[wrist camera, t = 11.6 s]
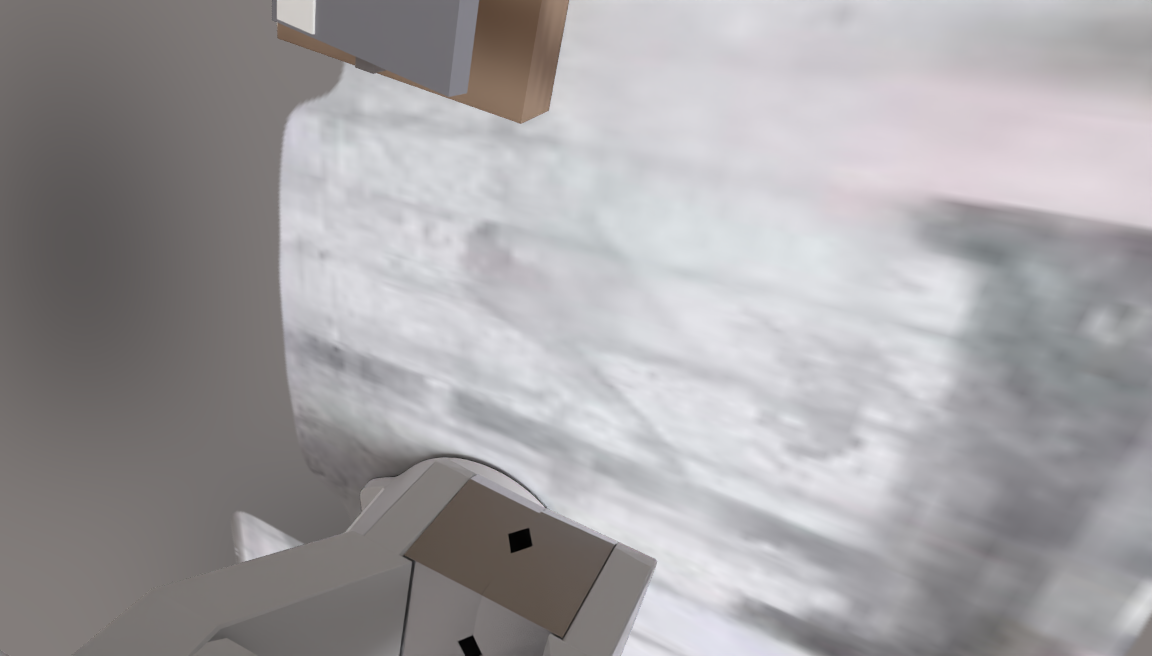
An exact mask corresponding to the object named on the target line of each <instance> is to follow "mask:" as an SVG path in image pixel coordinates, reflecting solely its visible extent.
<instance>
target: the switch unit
mask: <svg viewBox="0 0 1152 656" xmlns="http://www.w3.org/2000/svg"><path fill="white" fill-rule="evenodd" d="M568 4H569V0H479V5H478V13H477V21H476V28H475V36H474V44H473V52H472V59H471V67H470V75H469V83H468V90H467V93H466V94H461V95H456V96H451V97H447V96H445V95H443V94H440V93H438V92H436V91H434V90H431V89H429V88H427V87H424V86H422V85H420V84H418V83H415V82H413V81H411V80H408V79H406V78H404V77H401V76H399V75H397V74H395V73H392V72H390V71H388V70H385V69H383V68H381V67H379V66H376V65H374V64H372V63H369V62H367V61H365V60H362V59H360V58H358V57H356V56H353V55H351V54H349V53H346V52H344V51H342V50H340V49H337V48H335V47H333V46H330V45H328V44H326V43H323V42H321V41H319V40H317V39H314V38H312V37H310V36H307V35H305V34H303V33H301V32H298V31H296V30H294V29H291V28H289V27H287V26H285V25H282V24H280V23H278V22H277V26H278V38H279V39H281V40H284V41H287V42H290V43H293V44H296V45H298V46H301V47H304V48H307V49H310V50H313V51H315V52H319V53H321V54H324V55H327V56H330V57H333V58H336V59H338V60H341V61H344V62H347V63H350V64H352V65H355V67H356V68H358V69H361V70H364V71H367V72H370V73H373V74H374V73H378V74H381V75H384V76H387V77H389V78H392V79H395V80H398V81H401V82H404V83H406V84H409V85H412V86H415V87H418V88H421V89H424V90H426V91H429V92H432V93H435V94H438V95H441V96H443V97H446V98H449V99H452V100H455V101H458V102H461V103H463V104H466V105H469V106H472V107H475V108H478V109H480V110H483V111H486V112H489V113H492V114H495V115H497V116H500V117H503V118H506V119H509V120H512V121H515V122H517V123H520V124H521V123H524V122H526V121H528V120H530V119H532V118H534V117H536V116H538V115H540V114H543V113H545V112H547V111H549V106H550V100H551V95H552V90H553V84H554V79H555V73H556V68H557V63H558V57H559V52H560V47H561V41H562V36H563V30H564V25H565V20H566V14H567V9H568Z"/></svg>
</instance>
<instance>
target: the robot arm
mask: <svg viewBox="0 0 1152 656" xmlns="http://www.w3.org/2000/svg"><path fill="white" fill-rule="evenodd" d="M360 501H361V508H362V513H361V514H360V515H359V516H358V517H357V518H356V520H355V521H354V522H353V523H352V524H351V525H350V527H349V528H348V529H347V530H346V531H345V532H344V533H342V534H339V535H335V536H332V537H328V538H325V539H321V540H318V541H314V542H311V543H307V544H304V545H301V546H297V547H294V548H290V549H287V550H283V551H280V552H276V553H273V554H270V555H266V556H263V557H259V558H256V559H252V560H249V561H245V562H242V563H239V564H235V565H232V566H228V567H225V568H221V569H218V570H215V571H211V572H208V573H204V574H201V575H197V576H194V577H190V578H187V579H184V580H180V581H177V582H174V583H170V584H167V585H163V586H159V587H156V588H153V589H151V590H150V591H149V592H148V593H146V594H145V595H144V596H143V597H141V598H140V599H139V600H138V601H137V602H135V603H134V604H133V605H132V606H131V607H129V608H128V609H127V610H126V611H124V612H123V613H122V614H121V615H119V616H118V617H117V618H116V619H115V620H113V621H112V622H111V623H110V624H109V625H107V626H106V627H105V628H104V629H103V630H101V631H100V632H99V633H98V634H96V635H95V636H94V637H93V638H92V639H90V640H89V641H88V642H87V643H86V644H84V645H83V646H82V647H81V648H80V649H78V650H77V651H76V652H75V653H74V654H72V655H71V656H621V654H622V652H623V650H624V647H625V645H626V642H627V640H628V637H629V635H630V632H631V630H632V627H633V625H634V622H635V620H636V617H637V615H638V612H639V609H640V607H641V604H642V601H643V599H644V596H645V594H646V591H647V588H648V586H649V583H650V581H651V578H652V575H653V573H654V570H655V567H656V564H657V561H656V559H654V558H652V557H650V556H648V555H645V554H643V553H641V552H639V551H637V550H635V549H633V548H631V547H628V546H626V545H624V544H622V543H620V542H618V541H616V540H614V539H612V538H609V537H607V536H605V535H603V534H601V533H599V532H597V531H595V530H592V529H590V528H588V527H586V526H584V525H582V524H580V523H577V522H575V521H573V520H571V519H569V518H567V517H565V516H563V515H560V514H558V513H556V512H554V511H552V510H550V509H548V508H547V509H546V508H545V507H544V506H543V505H542V504H541V503H540V502H539V501H538V500H537V499H536V498H535V497H534V496H533V495H532V494H531V493H529V492H528V491H527V490H526V489H525V488H523V487H522V486H521V485H519V484H518V483H517V482H515V481H514V480H512V479H510V478H509V477H507V476H506V475H504V474H502V473H500V472H498V471H496V470H494V469H492V468H490V467H487V466H485V465H482V464H479V463H476V462H473V461H469V460H465V459H459V458H445V457H444V458H434V459H429V460H425V461H422V462H420V463H418V464H416V465H414V466H412V467H411V468H410V469H408V470H407V471H405V472H404V473H402V474H401V475H399V476H396V477H384V478H376V479H372V480H370V481H369V482H368V483H367V484H366V485H365V487H364V488H363V489H362V490H361V493H360ZM0 656H9V655H8V654H6V653H4V652H3V651H1V650H0Z"/></svg>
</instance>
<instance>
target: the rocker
mask: <svg viewBox="0 0 1152 656" xmlns="http://www.w3.org/2000/svg"><path fill="white" fill-rule="evenodd" d="M478 5H479V0H272V20H273V21H275V22H278V23H280V24H282V25H285V26H287V27H289V28H291V29H294V30H296V31H298V32H301V33H303V34H305V35H307V36H310V37H312V38H314V39H317V40H319V41H321V42H323V43H326V44H328V45H330V46H333V47H335V48H337V49H340V50H342V51H344V52H346V53H349V54H351V55H353V56H356V57H358V58H360V59H362V60H365V61H367V62H369V63H372V64H374V65H376V66H379V67H381V68H383V69H385V70H388V71H390V72H392V73H395V74H397V75H399V76H401V77H404V78H406V79H408V80H411V81H413V82H415V83H418V84H420V85H422V86H424V87H427V88H429V89H431V90H434V91H436V92H438V93H440V94H443V95H445V96H447V97H451V96H456V95H461V94H466V93H467V90H468V83H469V75H470V67H471V59H472V52H473V44H474V36H475V28H476V21H477V13H478Z"/></svg>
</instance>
